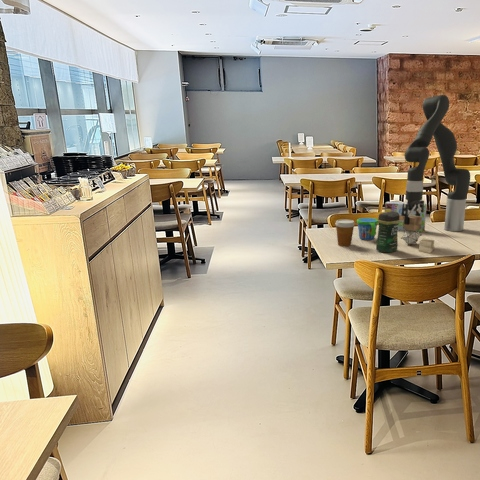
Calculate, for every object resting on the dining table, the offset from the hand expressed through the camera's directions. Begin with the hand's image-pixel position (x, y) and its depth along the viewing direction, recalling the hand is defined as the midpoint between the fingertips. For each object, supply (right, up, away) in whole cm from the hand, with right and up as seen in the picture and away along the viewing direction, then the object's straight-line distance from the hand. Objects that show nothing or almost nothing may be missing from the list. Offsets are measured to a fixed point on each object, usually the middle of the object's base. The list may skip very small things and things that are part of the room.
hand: (412, 223), depth 210 cm
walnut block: (0, -3, +1) cm, 3 cm away
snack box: (+8, -3, +31) cm, 32 cm away
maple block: (+3, -13, -8) cm, 16 cm away
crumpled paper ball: (0, -11, +3) cm, 11 cm away
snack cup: (-17, -8, +16) cm, 25 cm away
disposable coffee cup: (-31, -11, +7) cm, 34 cm away
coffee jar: (-14, -13, -6) cm, 20 cm away
